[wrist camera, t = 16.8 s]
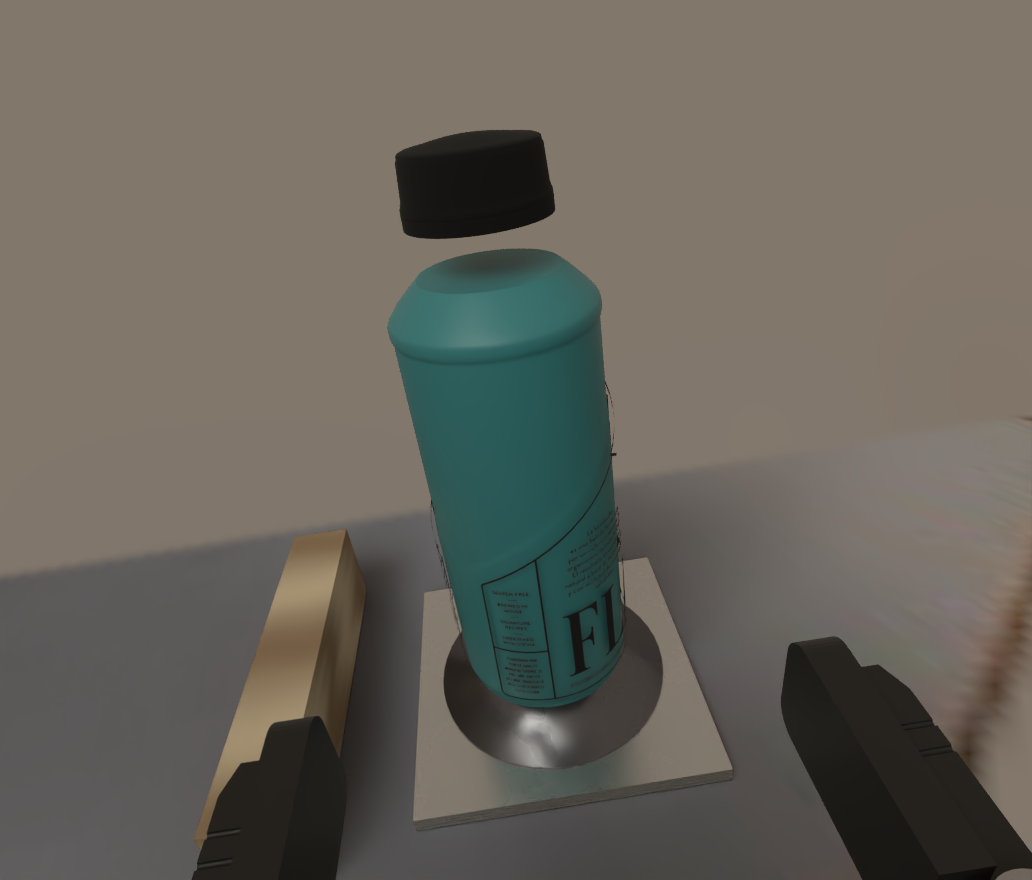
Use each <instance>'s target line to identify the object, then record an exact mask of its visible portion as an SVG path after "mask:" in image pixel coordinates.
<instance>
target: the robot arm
mask: <svg viewBox="0 0 1032 880" xmlns="http://www.w3.org/2000/svg"><path fill="white" fill-rule="evenodd" d="M781 708H782V714H783V718H784V722H785V725H786V728H787V731H788V733H789V736H790V738H791V740H792V742H793V744H794V746H795V748H796V750H797V752H798V754H799V756H800V758H801V760H802V762H803V764H804V766H805V768H806V770H807V772H808V773H809V775H810V777H811V779H812V781H813V783H814V785H815V787H816V789H817V791H818V793H819V795H820V797H821V799H822V801H823V803H824V805H825V807H826V809H827V811H828V813H829V815H830V817H831V819H832V821H833V823H834V825H835V827H836V829H837V831H838V833H839V834H840V836H841V838H842V840H843V842H844V844H845V846H846V848H847V850H848V852H849V854H850V856H851V858H852V860H853V862H854V864H855V866H856V868H857V870H858V872H859V874H860V876H861V878H862V880H1032V853H1031V851H1030V850H1029V849H1028V848H1027V846H1026V845H1025V844H1024V842H1023V841H1022V840H1021V838H1020V837H1019V836H1018V834H1017V833H1016V831H1015V830H1014V829H1013V827H1012V826H1011V825H1010V823H1009V822H1008V821H1007V819H1006V818H1005V817H1004V815H1003V814H1002V813H1001V811H1000V810H999V809H998V807H997V806H996V804H995V803H994V802H993V800H992V799H991V798H990V796H989V795H988V794H987V792H986V791H985V790H984V788H983V787H982V786H981V784H980V783H979V781H978V780H977V779H976V777H975V776H974V775H973V773H972V772H971V771H970V769H969V768H968V767H967V765H966V764H965V763H964V761H963V760H962V759H961V757H960V756H959V754H958V753H957V752H954V751H953V750H952V747H951V744H950V742H949V741H948V740H947V738H946V737H945V736H944V734H943V733H942V732H941V730H940V729H939V727H938V726H935V725H934V724H933V721H932V720H933V719H932V718H931V717H930V715H929V714H928V713H927V711H926V710H925V709H924V707H923V706H922V704H921V703H920V702H919V700H918V699H917V698H916V696H915V695H914V694H913V692H912V691H911V690H910V689H909V688H908V687H907V686H906V685H904V684H903V683H902V682H900V681H899V680H898V679H896V678H895V677H894V676H893V675H891V674H890V673H889V672H887V671H886V670H885V669H883V668H882V667H881V666H879V665H872V666H866V667H861V666H860V664H859V663H858V662H857V660H856V659H855V657H854V656H853V654H852V653H851V651H850V650H849V648H848V647H847V646H846V644H845V643H844V642H843V641H842V640H841V639H839V638H838V637H827V638H821V639H814V640H808V641H802V642H795V643H791V644H790V645H789V647H788V652H787V660H786V667H785V674H784V681H783V688H782V695H781ZM345 807H346V780H345V773H344V769H343V766H342V764H341V761H340V759H339V757H338V754H337V752H336V750H335V747H334V745H333V743H332V741H331V738H330V736H329V734H328V731H327V729H326V727H325V724H324V722H323V720H322V719H321V717H320V716H312V717H306V718H299V719H293V720H287V721H280V722H275V723H273V724H272V725H271V726H270V727H269V729H268V731H267V734H266V738H265V741H264V745H263V748H262V752H261V756H260V759H259V760H258V761H251V762H245V763H240V765H239V766H238V768H237V769H236V771H235V772H234V774H233V775H232V777H231V778H230V780H229V781H228V782H227V784H226V785H225V787H224V788H223V790H222V791H221V793H220V794H219V796H218V798H217V801H216V804H215V808H214V811H213V814H212V817H211V820H210V823H209V827H208V830H207V839H206V840H204V842H203V845H202V849H201V852H200V855H199V858H198V861H197V870H196V871H194V874H193V877H192V880H335V879H336V872H337V865H338V858H339V851H340V843H341V836H342V829H343V822H344V815H345Z"/></svg>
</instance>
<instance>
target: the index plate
mask: <svg viewBox="0 0 1032 880" xmlns="http://www.w3.org/2000/svg"><path fill="white" fill-rule="evenodd" d="M621 564H622V566H621ZM623 569H624V585H625V601H624V599H623V597H624V588H623ZM619 576H620V587H621V591H622V593H621V601H622V602H621V606H622V610H623V611H622V619H623V628H624V630H623V641H624V643H623V644H622V649H621V652H620V656H621V654H622V652H623V650H624V652H623V654H622V656H621V658H620V656H619V658H620V660H619V659H618V660H619V661H618V663H617V664H616V666H615V668H614V670H613V672H612V674H611V675H610V677H609V678H608V679H607V680H606V681H605V683H604V684H603V685H602V686H601V687H599V688H598V689H597V690H596V691H594V692H593V693H591V694H589V695H588V696H586V697H584V698H582V699H580V700H577V701H575V702H572V703H569V704H565V705H561V706H555V707H528V706H523V705H519V704H515V703H512V702H509V701H507V700H505V699H503V698H501V697H499V696H498V695H496V694H495V693H493V692H492V691H491V690H490V689H489V688H488V687H487V686H486V685H485V684H484V683H483V682H482V680H481V679H480V678H479V676H478V675H477V674H476V673H475V671H474V669H473V668H472V665H471V663H470V660H469V658H468V654H467V649H466V645H465V641H464V637H463V633H462V629H461V625H460V620H459V616H458V612H457V608H456V604H455V600H454V596H453V599H451V602H450V598H451V597H452V595H453V594H452V588H450V590H451V595H450V591H449V589H444V590H437V591H431V592H425V593H424V611H423V631H422V651H421V671H420V691H419V711H418V731H417V751H416V771H415V792H414V812H413V823H414V825H415V828H416V831H419V830H425V829H431V828H438V827H444V826H450V825H456V824H462V823H468V822H474V821H481V820H487V819H493V818H499V817H505V816H511V815H518V814H524V813H530V812H536V811H542V810H548V809H554V808H561V807H567V806H573V805H579V804H585V803H591V802H597V801H604V800H610V799H616V798H622V797H628V796H634V795H640V794H647V793H653V792H659V791H665V790H671V789H677V788H684V787H690V786H696V785H702V784H708V783H714V782H720V781H727V780H732V775H733V768H732V766H731V763H730V761H729V758H728V756H727V753H726V751H725V748H724V746H723V743H722V741H721V738H720V736H719V733H718V731H717V728H716V726H715V724H714V721H713V719H712V716H711V714H710V711H709V709H708V706H707V704H706V701H705V699H704V696H703V694H702V691H701V689H700V686H699V684H698V681H697V679H696V677H695V674H694V672H693V669H692V667H691V664H690V662H689V659H688V657H687V654H686V652H685V649H684V647H683V644H682V642H681V639H680V637H679V634H678V632H677V629H676V627H675V625H674V622H673V620H672V617H671V615H670V612H669V610H668V607H667V605H666V602H665V600H664V597H663V595H662V592H661V590H660V587H659V585H658V582H657V580H656V578H655V575H654V573H653V570H652V568H651V565H650V563H649V560H648V558H647V557H646V558H640V559H634V560H627V561H623V563H622V561H621V562H619ZM622 595H623V596H622ZM452 601H453V603H452ZM624 602H625V604H626V607H625V618H627V626H626V621H625V626H624V613H623V612H624V607H623V606H624V605H623V604H624ZM453 605H454V607H455V611H452V610H454V609H453V608H454V607H453ZM453 612H455V613H456V617H458V621H457V620H456V621H455V618H456V617H455V616H454V614H455V613H453ZM454 617H455V618H454ZM456 622H458V624H457V623H456ZM456 626H459V628H458V630H457V627H456ZM626 628H627V630H626ZM459 629H460V633H459ZM625 632H626V634H625ZM459 634H461V635H462V642H463V646H462V645H461V641H460V640H461V636H459ZM624 635H625V638H624ZM459 637H460V639H459ZM626 638H627V640H626ZM625 644H626V645H625ZM463 647H464V649H463ZM624 647H625V648H624ZM462 650H463V651H462ZM464 651H465V653H464ZM465 655H466V657H465ZM464 657H465V658H464ZM466 659H467V662H466Z"/></svg>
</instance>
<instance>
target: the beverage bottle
mask: <svg viewBox="0 0 1032 880" xmlns="http://www.w3.org/2000/svg"><path fill="white" fill-rule="evenodd" d="M395 158H396V161H395V167H396V175H397V182H398V189H399V197H400V216H401V221H402V226H403V231H404V233H405V234H407V235H409V236H412V237H417V238H427V239H446V238H462V237H471V236H479V235H486V234H491V233H497V232H502V231H507V230H511V229H515V228H519V227H523V226H526V225H529V224H532V223H535V222H538V221H540V220H543V219H544V218H547V217H548V216H550V215H551V214H553V212H554V211H555V203H554V193H553V187H552V185H551V182H550V180H549V173H548V167H547V160H546V154H545V148H544V142H543V140H542V138H541V134H540V133H539V132H536V131H531V130H486V131H474V132H465V133H459V134H454V135H450V136H446V137H442V138H438V139H435V140H432V141H429V142H426V143H423V144H419V145H416V146H412V147H409V148H407V149H404V150H402V151H400V152H399V153H397V154H396V156H395ZM601 309H602V301H601V295H600V292H599V290H598V288H597V287H596V285H595V284H594V283H593V282H592V281H591V280H590V279H589V278H588V277H587V276H585V275H584V274H583V273H582V272H580V271H579V270H578V269H577V268H575V267H574V266H573V265H572V264H570V263H569V262H568V261H566V260H565V259H563V258H561V257H560V256H559V255H557V254H555V253H553V252H549V251H545V250H538V249H501V250H491V251H484V252H478V253H473V254H468V255H463V256H459V257H455V258H451V259H448V260H445V261H442V262H440V263H437V264H435V265H433V266H431V267H429V268H427V269H426V270H424V271H422V272H421V273H420V274H419V275H418V276H417V278H416V279H415V280H414V282H413V283H412V284H411V285H410V286H409V288H408V289H407V290H406V292H405V293H404V295H403V296H402V297H401V299H400V300H399V301H398V303H397V305H396V307H395V309H394V311H393V312H392V314H391V316H390V318H389V322H388V333H389V337H390V340H391V342H392V344H393V346H394V347H395V352H396V356H397V359H398V364H399V368H400V372H401V376H402V380H403V384H404V388H405V392H406V396H407V401H408V405H409V409H410V413H411V417H412V421H413V426H414V430H415V434H416V438H417V442H418V446H419V450H420V454H421V458H422V463H423V466H424V471H425V475H426V479H427V483H428V487H429V491H430V495H431V505H432V506H433V510H434V514H435V520H436V526H437V531H438V535H439V539H440V543H441V547H442V551H443V556H444V560H445V564H446V568H447V572H448V576H449V580H450V584H451V588H452V594H453V595H452V597H451V598H450V602H451V599H453V596H454V600H455V604H456V608H457V612H458V616H459V620H460V625H461V629H462V633H463V637H464V641H465V645H466V649H467V654H468V658H469V660H470V663H471V665H472V668H473V669H474V671H475V673H476V674H477V675H478V676H479V678H480V679H481V680H482V682H483V683H484V684H485V685H486V686H487V687H488V688H489V689H490V690H491V691H492V692H493V693H495V694H496V695H498V696H499V697H501V698H503V699H505V700H507V701H509V702H512V703H515V704H519V705H523V706H528V707H555V706H561V705H565V704H569V703H572V702H575V701H577V700H580V699H582V698H584V697H586V696H588V695H589V694H591V693H593V692H594V691H596V690H597V689H598V688H599V687H601V686H602V685H603V684H604V683H605V681H606V680H607V679H608V678H609V677H610V675H611V674H612V672H613V670H614V668H615V666H616V664H617V663H618V661H619V660H620V658H621V656H622V654H623V652H624V650H623V652H622V654H621V656H620V652H621V649H622V644H623V643H624V641H623V630H624V628H623V619H622V611H623V610H622V606H621V602H622V601H621V593H622V591H621V587H620V576H619V561H618V552H619V550H620V547H619V549H618V544H619V542H620V541H619V539H620V537H619V538H618V535H617V531H616V530H617V529H616V527H617V528H618V526H619V525H618V524H619V521H620V520H619V521H618V524H617V526H616V522H617V519H616V516H615V501H614V486H613V471H612V456H616V453H611V452H612V449H611V436H610V422H609V411H608V395H607V394H606V388H605V384H606V382H605V375H604V362H603V349H602V335H601V322H600V315H601ZM606 386H607V385H606ZM607 389H608V387H607ZM608 391H609V390H608ZM606 395H607V398H606ZM612 447H613V444H612ZM617 510H618V507H617ZM616 512H617V511H616ZM618 516H619V512H618ZM431 522H432V521H431ZM432 529H433V528H432ZM618 534H619V532H618ZM620 536H621V533H620ZM435 542H436V541H435ZM436 545H437V543H436ZM620 545H621V542H620ZM437 548H438V547H437ZM439 553H440V552H439ZM439 553H438V555H439ZM440 556H441V555H440ZM440 556H439V559H440ZM622 557H623V554H622ZM441 558H442V557H441ZM442 561H443V558H442V560H441V561H440V562H441V563H442ZM622 563H623V559H622ZM443 566H444V563H443ZM621 566H622V564H621ZM444 570H445V567H444ZM444 572H445V571H444ZM445 574H446V572H445ZM444 578H445V575H444ZM446 578H447V576H446ZM446 582H448V580H446ZM448 586H449V584H448ZM623 588H624V597H623V599H624V601H625V585H624V569H623ZM449 591H450V595H451V590H450V588H449ZM622 596H623V595H622ZM452 603H453V601H452ZM623 605H624V606H623V607H624V612H623V613H624V626H625V621H626V626H627V618H625V607H626V604H625V602H624V604H623ZM453 607H454V605H453ZM453 609H454V610H452V611H455V607H454V608H453ZM453 613H455V612H453ZM454 616H455V617H456V613H455V614H454ZM455 617H454V618H455ZM456 620H457V621H458V617H456V618H455V621H456ZM456 623H457V624H458V622H456ZM456 627H457V630H458V628H459V626H456ZM626 630H627V628H626ZM459 633H460V629H459ZM625 634H626V632H625ZM459 636H461V640H460V641H461V645H462V646H463V642H462V635H461V634H459ZM624 638H625V635H624ZM459 639H460V637H459ZM626 640H627V638H626ZM625 645H626V644H625ZM624 648H625V647H624ZM463 649H464V647H463ZM462 651H463V650H462ZM464 653H465V651H464ZM619 656H620V658H619ZM465 657H466V655H465ZM465 657H464V658H465ZM618 659H619V660H618ZM466 662H467V659H466Z"/></svg>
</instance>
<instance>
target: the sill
mask: <svg viewBox="0 0 1032 880" xmlns="http://www.w3.org/2000/svg"><path fill="white" fill-rule="evenodd" d="M366 592H367V589H366V586H365V583H364V580H363V577H362V574H361V571H360V568H359V565H358V562H357V559H356V556H355V553H354V550H353V547H352V544H351V541H350V538H349V535H348V532H347V529H342V530H335V531H329V532H322V533H316V534H310V535H303V536H297V537H294V540H293V543H292V546H291V549H290V552H289V555H288V558H287V561H286V564H285V567H284V570H283V573H282V576H281V579H280V582H279V585H278V588H277V591H276V594H275V597H274V600H273V603H272V606H271V609H270V612H269V615H268V618H267V621H266V624H265V627H264V630H263V633H262V636H261V639H260V642H259V645H258V648H257V651H256V654H255V657H254V660H253V663H252V666H251V669H250V672H249V675H248V678H247V681H246V684H245V687H244V690H243V693H242V696H241V699H240V702H239V705H238V708H237V711H236V714H235V717H234V720H233V723H232V726H231V729H230V732H229V735H228V738H227V741H226V744H225V747H224V750H223V753H222V756H221V759H220V762H219V765H218V768H217V771H216V774H215V777H214V780H213V783H212V786H211V789H210V792H209V795H208V798H207V801H206V804H205V807H204V810H203V813H202V816H201V819H200V822H199V825H198V828H197V831H196V834H195V837H194V842H195V843H196V845H197V846H198V847H199V849H200V850H201V849H202V845H203V842H204V840H206V839H207V830H208V827H209V823H210V820H211V817H212V814H213V811H214V808H215V804H216V801H217V798H218V796H219V794H220V793H221V791H222V790H223V788H224V787H225V785H226V784H227V782H228V781H229V780H230V778H231V777H232V775H233V774H234V772H235V771H236V769H237V768H238V766H239V765H240V763H245V762H251V761H258V760H259V759H260V756H261V752H262V748H263V745H264V741H265V738H266V734H267V731H268V729H269V727H270V726H271V725H272V724H273V723H275V722H280V721H287V720H293V719H299V718H306V717H312V716H320V717H321V719H322V720H323V722H324V724H325V727H326V729H327V731H328V734H329V736H330V738H331V741H332V743H333V745H334V747H335V750H336V752H337V754H338V757H339V759H340V753H341V747H342V741H343V734H344V728H345V722H346V716H347V710H348V703H349V697H350V691H351V685H352V678H353V672H354V666H355V660H356V654H357V647H358V641H359V635H360V629H361V623H362V616H363V610H364V604H365V598H366Z"/></svg>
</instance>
